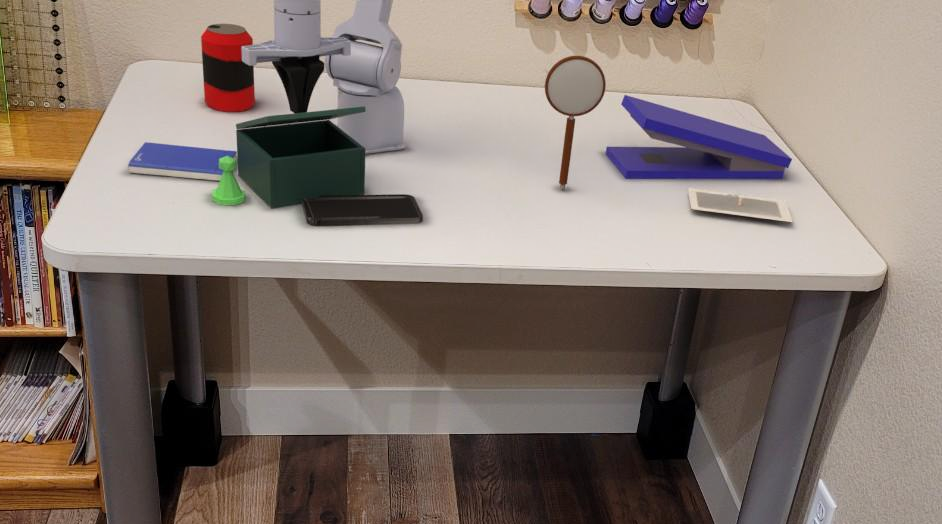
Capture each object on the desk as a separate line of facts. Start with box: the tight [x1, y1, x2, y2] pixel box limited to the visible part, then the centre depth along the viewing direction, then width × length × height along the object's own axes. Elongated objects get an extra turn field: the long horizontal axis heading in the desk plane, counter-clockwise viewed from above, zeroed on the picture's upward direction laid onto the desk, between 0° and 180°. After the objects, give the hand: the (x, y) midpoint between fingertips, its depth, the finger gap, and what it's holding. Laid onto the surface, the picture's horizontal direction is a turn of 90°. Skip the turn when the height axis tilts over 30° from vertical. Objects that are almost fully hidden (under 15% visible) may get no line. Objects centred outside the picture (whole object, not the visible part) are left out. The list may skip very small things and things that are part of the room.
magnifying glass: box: [544, 55, 607, 191], centre depth 149 cm, size 9×2×20 cm, turn 100°
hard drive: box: [127, 141, 238, 182], centre depth 144 cm, size 2×8×12 cm
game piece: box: [211, 156, 246, 206], centre depth 136 cm, size 4×4×6 cm
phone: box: [301, 193, 424, 227], centre depth 139 cm, size 8×1×15 cm
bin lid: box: [235, 106, 366, 130], centre depth 139 cm, size 12×13×1 cm
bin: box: [235, 119, 366, 209], centre depth 142 cm, size 11×13×7 cm
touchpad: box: [687, 187, 793, 223], centre depth 155 cm, size 8×15×2 cm, turn 88°
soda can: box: [200, 23, 256, 113], centre depth 164 cm, size 8×8×12 cm
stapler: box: [605, 94, 793, 180], centre depth 167 cm, size 12×28×10 cm, turn 107°
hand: (298, 112), depth 139 cm, fingers closed
